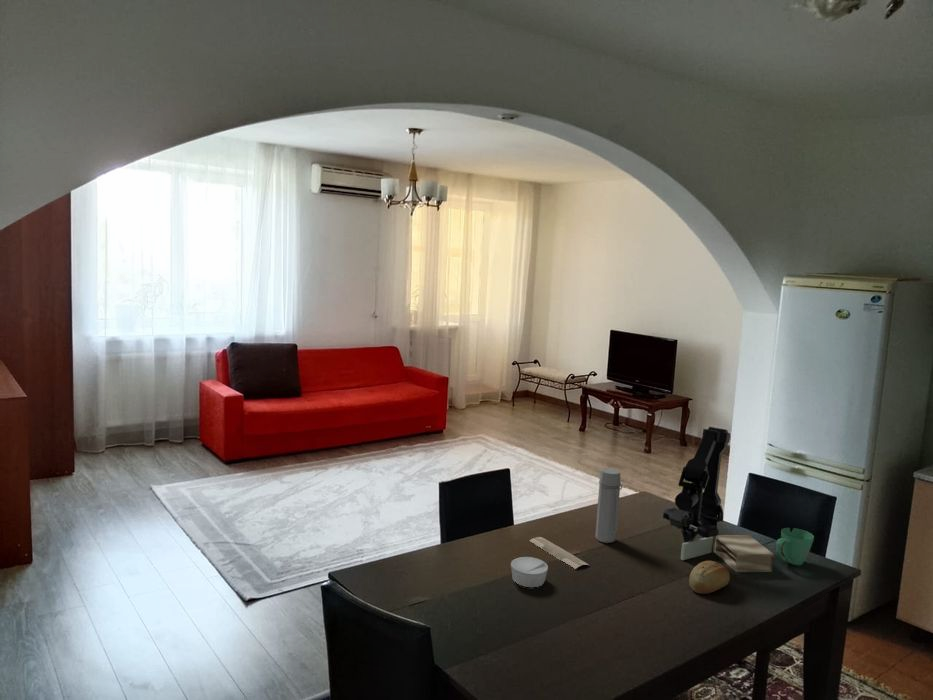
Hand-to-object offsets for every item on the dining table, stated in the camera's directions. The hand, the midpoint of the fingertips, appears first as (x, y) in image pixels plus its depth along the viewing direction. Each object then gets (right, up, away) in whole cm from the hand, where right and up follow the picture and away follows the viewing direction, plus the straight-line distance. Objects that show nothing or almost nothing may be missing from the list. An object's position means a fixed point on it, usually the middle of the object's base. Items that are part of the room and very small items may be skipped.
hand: (687, 546), depth 222 cm
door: (+3, -3, 0) cm, 5 cm away
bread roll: (-1, -6, -22) cm, 23 cm away
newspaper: (-44, -2, -3) cm, 45 cm away
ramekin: (-56, -4, -23) cm, 60 cm away
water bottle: (-25, -1, +9) cm, 27 cm away
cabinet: (+18, -4, -2) cm, 18 cm away
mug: (+34, -5, -2) cm, 34 cm away
